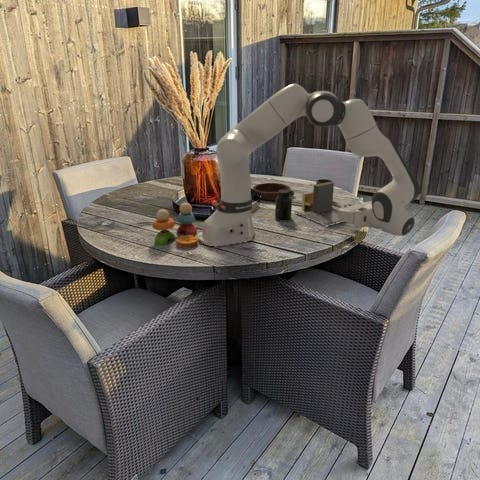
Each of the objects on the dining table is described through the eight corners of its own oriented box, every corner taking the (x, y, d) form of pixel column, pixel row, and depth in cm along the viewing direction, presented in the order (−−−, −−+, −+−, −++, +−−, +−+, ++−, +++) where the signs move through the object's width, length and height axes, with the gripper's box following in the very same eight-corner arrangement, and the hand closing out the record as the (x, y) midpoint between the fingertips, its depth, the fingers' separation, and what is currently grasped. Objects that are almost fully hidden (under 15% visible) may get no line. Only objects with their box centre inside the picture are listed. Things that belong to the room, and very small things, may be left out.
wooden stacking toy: (188, 251, 155) (186, 218, 151) (149, 243, 163) (146, 211, 158) (214, 234, 170) (213, 203, 165) (177, 227, 177) (175, 197, 173)
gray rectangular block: (316, 214, 185) (317, 186, 180) (306, 210, 190) (307, 182, 186) (331, 210, 190) (333, 183, 185) (321, 206, 195) (323, 179, 190)
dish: (247, 192, 223) (247, 183, 221) (290, 191, 224) (291, 182, 222) (250, 203, 207) (250, 192, 205) (297, 201, 208) (297, 191, 206)
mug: (335, 205, 201) (336, 185, 197) (318, 206, 201) (320, 186, 197) (329, 198, 212) (330, 178, 209) (313, 198, 212) (314, 179, 208)
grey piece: (327, 226, 176) (328, 206, 173) (294, 213, 192) (295, 194, 188) (355, 219, 184) (357, 199, 181) (322, 206, 200) (323, 188, 196)
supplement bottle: (272, 219, 185) (272, 192, 180) (278, 214, 190) (279, 187, 186) (287, 222, 182) (288, 194, 177) (293, 217, 187) (294, 189, 183)
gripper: (392, 201, 169) (365, 193, 180) (355, 212, 159) (328, 202, 170) (390, 217, 172) (363, 208, 182) (353, 228, 161) (327, 218, 172)
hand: (346, 205), depth 176 cm, fingers closed
